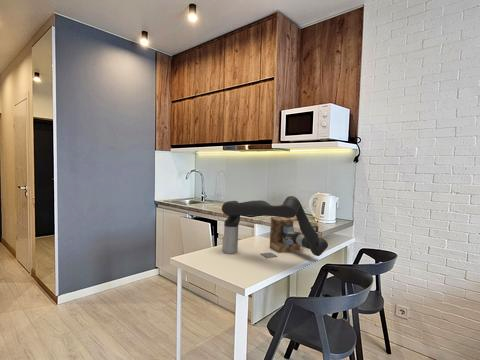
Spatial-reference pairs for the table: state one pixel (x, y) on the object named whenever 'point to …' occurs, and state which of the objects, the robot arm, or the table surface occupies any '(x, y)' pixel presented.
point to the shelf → (276, 234)
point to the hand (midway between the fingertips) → (285, 233)
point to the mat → (269, 255)
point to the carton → (288, 231)
